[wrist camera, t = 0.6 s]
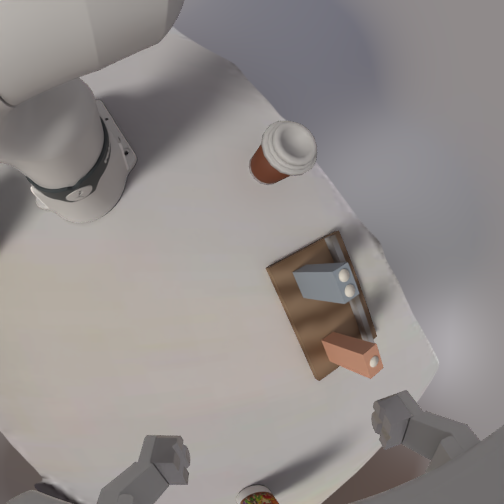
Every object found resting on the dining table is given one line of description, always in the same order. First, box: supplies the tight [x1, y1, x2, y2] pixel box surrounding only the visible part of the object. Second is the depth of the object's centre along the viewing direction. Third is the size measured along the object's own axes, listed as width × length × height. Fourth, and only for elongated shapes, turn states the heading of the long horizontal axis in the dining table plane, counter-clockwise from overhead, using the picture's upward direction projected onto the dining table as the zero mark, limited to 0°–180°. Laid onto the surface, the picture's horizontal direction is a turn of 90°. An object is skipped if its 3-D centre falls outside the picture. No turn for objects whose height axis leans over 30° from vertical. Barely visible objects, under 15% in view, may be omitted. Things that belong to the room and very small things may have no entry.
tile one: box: [321, 332, 383, 379], centre depth 45 cm, size 5×3×12 cm, turn 26°
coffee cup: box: [249, 121, 317, 185], centre depth 45 cm, size 9×9×12 cm
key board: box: [266, 231, 377, 381], centre depth 51 cm, size 24×16×4 cm, turn 26°
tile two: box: [292, 262, 360, 304], centre depth 44 cm, size 5×3×12 cm, turn 26°
